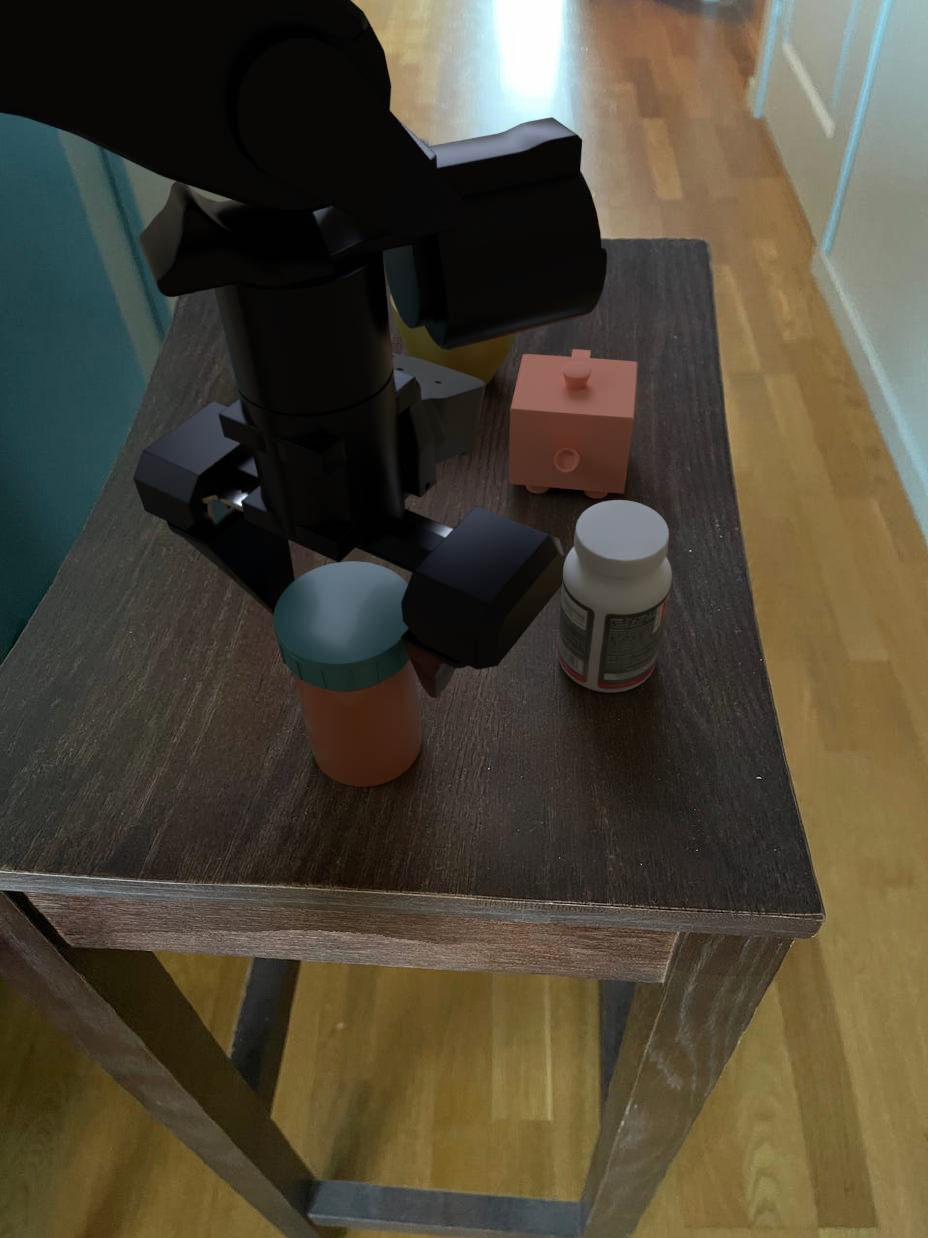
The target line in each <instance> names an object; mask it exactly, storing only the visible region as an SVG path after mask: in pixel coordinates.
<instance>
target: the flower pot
mask: <svg viewBox="0 0 928 1238" xmlns="http://www.w3.org/2000/svg"><path fill="white" fill-rule="evenodd" d="M389 298H390V299H389V300H390V306H391V309H392V315H393V318H394V321H395V324H396V327H397V330H398V333H399V335H400V338H401V340H402V343H403V344H404V347H405V349H406V351H407V353H408V354H409V357H414V358H419V359H422V360H425V361H428V362H431V363H434V364H437V365H440V366H443V367H446V368H449V369H452V370H455V371H458V372H461V373H464V374H467V375H470V376H473V377H476V378H478V379H480V380H482V381H484V382H485V384H486V385H485V387H487V385H488V384H489V383H490V382H491V380H492V379H493V378H494V376H495V375H496V374H497V372H498V371H499V369H500V368H501V367H502V365H503V363H504V362H505V360H506V358H507V356H508V354H509V353H510V350H511V348H512V346H513V343H514V341H515V338H516V336H517V333H516V334H512V335H508V336H504V337H500V338H496V339H491V340H487V341H483V342H479V343H475V344H471V345H467V346H463V347H459V348H455V349H451V350H444V349H442V348H441V347H439V346H438V345H437V344H436V343H435V342H434V341H433V340H432V338H431V337H430V335H429V333H428V331H427V330H426V328H425V326H423V327H418V328H414V329H412V328H409V327H408V326H407V325H406V324H405V323H404V322H403V320H402V319H401V317H400V315H399V313H398V311H397V309H396V306H395V304H394V301H393V298H392V295H391V294H390V297H389Z"/></svg>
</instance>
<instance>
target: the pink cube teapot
mask: <svg viewBox="0 0 928 1238" xmlns="http://www.w3.org/2000/svg"><path fill="white" fill-rule="evenodd" d="M591 353H592V350H590V349H578V348H577V349H576V348H573V349H572V350H571V355H570V356H567V355H566V356H565V355H548V354H532V353H523V354H522V357H521V359H520V365H519V370H518V374H517V377H516V382H515V388H514V393H513V397H512V400H511V406H510V409H509V453H508V454H509V458H508V459H509V462H508V464H509V465H508V484H510V485H519V486H522V485H523V486H525V488H526V490H527V491H529V492H530V493H533V494H543V493H546V492H548V491H549V490H550V488H553V489H554V488H555V489H565V490H578V491H583V493H584V495H586V496H587V497H588V498H591V499H602V498H605V497H607V496H608V493H612V494H623V495H624V494H625V490H626V489H625V488H626V482H627V475H628V474H627V473H628V466H629V460H630V453H631V443H632V436H633V429H634V422H635V408H636V396H637V395H636V394H637V381H638V380H637V378H638V366H639V363H638V361H633V360H624V359H623V360H621V359H608V358H596V357H595V358H593V357H591Z"/></svg>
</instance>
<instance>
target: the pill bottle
mask: <svg viewBox="0 0 928 1238" xmlns="http://www.w3.org/2000/svg"><path fill="white" fill-rule="evenodd" d="M669 539H670V530H669V526H668V523H667V522H666V520H665V519H664V518H663V517H662V515H661V514H660V513H658V512H657V511H655V510H654V509H653V508H651V507H649V506H647V505H645V504H643V503H640V502H636V501H632V500H625V499H613V500H606V501H605V500H604V501H601V502H598V503H596V504H593V505H591V506H590V507H588V508H586V509H585V510H584V511H583V512H582V513H581V514H580V516H579V518H577V521H576V525H575V531H574V537H573V547H571V549H570V550H569V552H568V554H567V555H566V556H565V559H564V567H563V580H562V586H561V593H560V594H561V595H560V607H559V623H558V637H557V656H558V657H557V658H558V660H559V663H560V665H561V668H562V669H563V671H564V672H565V674H566V675H567V677H569V678H570V679H571V680H572V681H574V682H575V683H577V684H579V685H580V686H581V687H584V688H586V689H589V690H592V691H595V692H600V693H621V692H626V691H630V690H632V689H635V688H636V687H638V686H640V685H641V684H644V682H645V681H646V680H648V679H649V678H650V676H651V675H652V673H653V671H654V670H655V668H656V665H657V661H658V659H659V658H658V657H659V651H660V647H661V640H662V634H663V629H664V625H665V620H666V614H667V610H668V603H669V598H670V593H671V588H672V580H673V572H672V566H671V564H670V560H669V559H668V557H667V554H668V547H669Z"/></svg>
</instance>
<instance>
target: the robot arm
mask: <svg viewBox="0 0 928 1238" xmlns="http://www.w3.org/2000/svg"><path fill="white" fill-rule="evenodd" d="M386 57H387V56H386V53H385V49H384V48H383V46H382V43H381V41H380V40H379V38H378V36H377V34H376V32H375V30H374V27H373V26H372V24H371V23H370V21H369V19H368V17H367V15H366V14H365V12H364V10H363V9H361V8H360V7H359V6H358V5H357V4H356V3H355V2H354V1H353V0H0V114H4V115H10V116H15V117H21V118H26V119H28V120H31V121H35V122H37V123H40V124H42V125H43V124H44V125H46V126H48V127H52V128H55V129H58V130H60V131H63V132H66V133H70V134H72V135H75V136H77V137H79V138H81V139H84V140H85V141H87V142H89V143H92V144H94V145H96V146H98V147H100V148H102V149H104V150H106V151H108V152H110V153H113V154H114V155H116V156H119V157H120V158H123V159H124V160H127V161H129V162H130V163H133V164H135V165H137V166H139V167H141V168H143V169H146V170H147V171H149V172H152V173H153V174H155V175H158V176H160V177H162V178H166V179H168V180H171V181H174V182H173V183H172V184H171V186H170V191H169V195H168V198H167V201H166V202H165V204H164V206H163V208H162V209H161V210H160V211H159V212H158V213H157V214H156V215H155V216H154V217H153V218H152V220H151V221H150V223H149V224H148V225H146V226H147V227H145V229H144V230H142V232H141V233H140V234H139V237H138V245H139V247H140V250H141V253H142V255H143V258H144V260H145V262H146V264H147V267H148V269H149V272H150V274H151V277H152V279H153V282H154V284H155V286H156V288H157V290H158V292H159V293H160V294H161V295H163V296H164V297H167V298H176V297H181V296H185V295H186V296H187V295H191V294H194V293H200V292H205V291H209V290H214V296H215V301H216V304H217V307H218V312H219V317H220V320H221V325H222V328H223V333H224V337H225V341H226V344H227V345H226V346H227V350H228V354H229V355H228V356H229V359H230V362H231V367H232V372H233V376H234V380H235V384H236V388H237V389H236V390H237V393H238V399H237V400H235V401H234V402H232V403H230V404H229V405H228V406H227V405H224V404H223V403H220V402H217V401H214V400H212V401H211V402H209V403H208V404H207V405H205V406H204V407H203V408H201V409H200V410H198V411H197V412H195V413H194V414H192V415H191V416H189V417H188V418H186V419H185V420H184V421H182V422H180V424H179V425H177V426H175V427H174V428H172V429H170V431H169V432H167V433H165V434H164V435H162V436H161V437H160V438H158V439H157V440H156V441H154V442H153V443H151V444H149V446H147V447H146V448H144V449H143V450H142V451H141V454H140V457H139V460H138V462H137V466H136V468H135V472H134V474H133V479H132V480H133V482H134V486H135V487H136V490H137V493H138V495H139V498H140V501H141V504H142V507H143V510H144V511H145V512H146V513H149V514H151V515H153V516H154V517H157V518H159V519H161V520H163V521H165V522H166V525H167V527H168V529H169V530H170V531H171V532H172V533H174V534H175V535H177V536H179V537H181V538H182V539H183V540H185V541H186V542H187V543H188V544H190V545H191V546H192V547H193V548H194V549H196V550H197V551H198V552H199V553H200V554H201V555H203V557H205V558H206V559H208V560H209V561H210V562H211V563H212V564H214V565H215V566H216V567H217V568H218V569H219V570H221V571H222V572H223V573H224V574H225V575H226V576H227V577H229V578H230V579H231V580H232V581H234V583H236V584H237V585H238V586H239V587H241V588H242V590H244V591H245V592H246V593H247V594H248V595H249V596H251V597H252V599H254V600H255V601H256V602H257V603H259V605H260V606H262V608H264V609H265V610H266V611H267V612H268V613H270V614H271V615H272V617H274V611H275V607H276V604H277V602H278V600H279V598H280V596H281V595H282V593H283V592H284V591H285V589H286V588H287V587H288V586H289V585H290V584H291V583H292V582H294V581H295V580H296V578H295V577H296V576H295V571H294V566H293V560H292V554H291V547H290V542H292V543H294V544H297V545H298V546H301V547H303V548H306V549H308V550H310V551H312V552H314V553H316V554H319V555H321V556H323V557H325V558H327V559H329V560H331V561H334V562H335V563H337V562H338V563H340V562H343V560H344V559H345V558H346V557H347V556H348V555H349V554H350V553H351V552H353V551H354V550H355V549H357V550H360V551H361V552H362V551H363V552H364V553H366V554H369V555H371V556H374V557H376V558H378V559H381V560H383V561H384V562H387V563H389V564H391V565H394V566H396V567H399V568H400V569H403V570H405V571H407V572H409V573H411V575H410V579H409V580H408V582H407V584H408V586H407V588H406V591H405V593H404V596H403V598H402V601H401V607H402V617H403V622H404V623H405V624H406V626H407V627H408V629H407V631H406V632H405V633H404V634H403V635H402V636H401V641H402V643H403V646H404V648H405V650H406V652H407V654H408V656H409V658H410V661H411V663H412V665H413V667H414V669H415V672H416V674H417V679H418V680H419V682H420V684H421V686H422V688H423V689H424V691H425V692H426V694H427V695H428V696H429V697H431V698H433V699H438V698H439V696H440V695H441V694H442V693H443V691H444V690H445V689H446V688H447V686H448V685H449V684H450V681H451V680H452V677H453V675H454V673H455V671H456V670H457V669H464V668H467V667H471V668H472V669H474V670H477V671H479V670H483V669H489V668H495V667H498V666H499V665H500V663H501V662H502V661H503V660H504V659H505V657H506V656H507V655H508V654H509V652H510V651H511V650H512V648H513V647H514V646H515V645H516V643H517V642H518V641H519V640H520V638H521V637H522V636H523V635H524V633H525V632H526V631H527V629H528V628H530V626H531V625H532V623H533V622H534V621H535V620H536V618H537V617H538V616H539V615H540V613H541V612H542V611H543V609H544V608H545V607H546V606H547V605H548V603H549V602H550V601H551V599H552V598H553V597H554V596H555V595H556V593H557V592H558V591H559V589H560V588H562V580H563V568H564V563H565V553H564V550H563V547H562V544H561V540H560V538H559V537H556V536H553V535H551V534H548V533H546V532H543V531H541V530H539V529H535V528H534V527H531V526H528V525H526V524H523V523H521V522H518V521H516V520H513V519H511V518H509V517H506V516H504V515H501V514H499V513H495V512H493V511H491V510H488V509H486V508H484V507H481V506H478V505H475V506H474V507H472V509H471V510H470V511H469V512H468V513H467V514H466V515H465V516H464V517H463V518H462V519H461V520H460V521H459V522H458V523H457V524H456V525H455V526H454V528H453V527H451V526H449V525H446V524H445V523H441V522H439V521H436V520H434V519H431V518H429V517H426V516H425V515H422V514H419V513H418V512H416V511H415V512H414V511H412V510H410V509H408V508H406V500H407V499H408V498H409V497H410V496H411V495H412V496H415V497H417V498H422V497H423V496H424V495H425V494H426V493H428V491H430V490H431V489H432V488H433V487H434V486H435V485H436V484H437V483H438V482H437V481H438V479H437V478H438V477H437V464H439V463H442V462H444V461H447V460H448V459H451V458H454V457H456V456H459V455H463V456H468V455H470V454H472V453H473V452H474V451H475V446H476V440H477V435H478V430H479V425H480V418H481V412H482V409H483V401H484V396H485V392H486V391H485V390H486V386H487V385H486V384H485V382H484V381H482V380H480V379H478V378H476V377H473V376H470V375H467V374H464V373H461V372H458V371H455V370H452V369H449V368H446V367H443V366H440V365H437V364H434V363H431V362H428V361H425V360H422V359H419V358H414V357H411V356H409V355H402V354H398V353H395V352H393V351H392V339H391V328H390V315H389V305H388V294H387V285H388V288H389V291H390V295H392V298H393V301H394V304H395V306H396V309H397V311H398V313H399V315H400V317H401V319H402V320H403V322H404V323H405V324H406V325H407V326H408V327H409V328H412V329H414V328H418V327H423V326H425V328H426V330H427V331H428V333H429V335H430V337H431V338H432V340H433V341H434V342H435V343H436V344H437V345H438V346H439V347H441V348H442V349H444V350H451V349H455V348H459V347H463V346H467V345H471V344H475V343H479V342H483V341H487V340H491V339H496V338H500V337H504V336H508V335H512V334H516V335H517V334H519V333H523V332H527V331H531V330H536V329H539V328H544V327H548V326H553V325H557V324H559V323H564V322H568V321H571V320H575V319H580V318H584V317H586V316H587V315H589V314H591V313H592V312H593V311H594V309H595V308H596V307H597V305H598V304H599V302H600V300H601V297H602V294H603V291H604V287H605V283H606V278H607V277H606V276H607V270H608V269H607V267H608V252H607V249H606V248H605V247H604V246H603V245H602V234H601V232H602V231H601V228H600V227H601V226H600V221H599V217H598V211H597V207H596V205H595V201H594V197H593V195H592V191H591V189H590V187H589V185H588V182H587V180H586V179H585V177H584V174H583V173H582V171H581V169H582V168H581V167H582V154H583V138H582V137H580V136H579V134H577V133H576V132H575V131H573V130H571V129H570V128H569V127H567V126H566V125H565V124H563V123H562V122H560V121H559V120H557V119H556V118H555V117H552V116H551V117H545V118H540V119H534V120H529V121H526V122H522V123H519V124H517V125H515V126H513V127H511V128H508V129H507V130H505V131H501V132H497V133H493V134H488V135H483V136H476V137H471V138H466V139H461V140H455V141H450V142H445V143H439V144H433V145H427V144H426V143H425V142H423V140H422V139H420V138H419V137H418V136H417V135H416V134H415V133H414V132H413V131H412V130H411V129H410V128H409V127H408V126H407V125H405V124H404V123H403V122H402V121H401V120H399V118H398V117H397V116H395V114H394V113H393V112H392V111H391V98H392V82H391V77H390V73H389V68H388V63H387V58H386ZM192 187H193V188H196V189H198V190H202V191H205V192H208V193H210V194H214V195H215V196H216V195H217V196H220V197H222V198H226V199H228V200H223V201H220V200H219V201H218V200H213V199H211V198H208V197H206V196H203V195H202V194H200V193H199V192H197V191H196V190H195V189H193V188H192ZM386 280H387V281H386ZM386 282H387V283H386ZM485 385H486V386H485Z"/></svg>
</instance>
